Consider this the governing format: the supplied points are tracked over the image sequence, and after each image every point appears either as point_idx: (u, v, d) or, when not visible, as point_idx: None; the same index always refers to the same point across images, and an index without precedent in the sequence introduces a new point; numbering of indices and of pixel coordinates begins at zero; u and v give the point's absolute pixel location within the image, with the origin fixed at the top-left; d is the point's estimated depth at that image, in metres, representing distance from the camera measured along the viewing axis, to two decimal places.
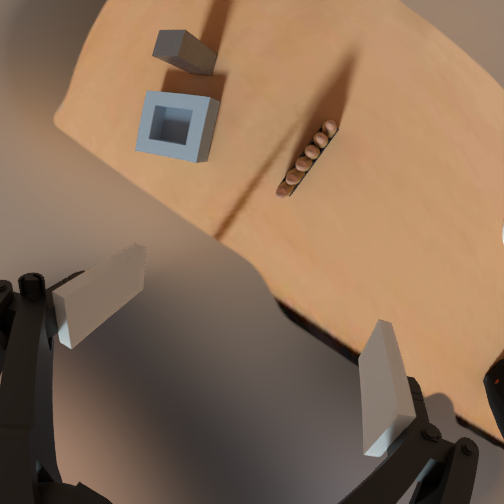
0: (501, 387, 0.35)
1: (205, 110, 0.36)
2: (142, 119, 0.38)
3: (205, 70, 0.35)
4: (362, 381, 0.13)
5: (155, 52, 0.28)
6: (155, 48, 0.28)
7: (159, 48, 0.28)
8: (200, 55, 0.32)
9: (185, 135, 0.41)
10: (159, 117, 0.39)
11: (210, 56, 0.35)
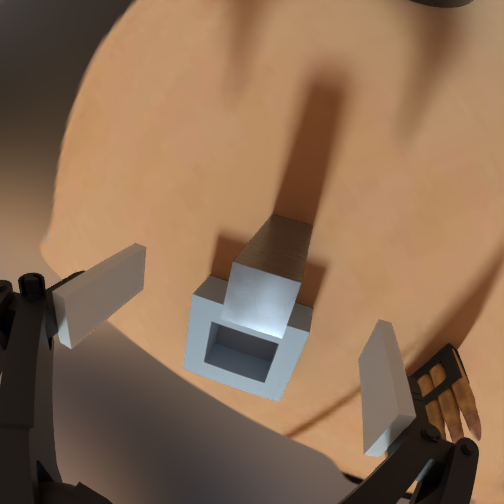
0: None
1: (300, 348, 0.24)
2: (190, 334, 0.26)
3: None
4: (362, 381, 0.13)
5: (228, 314, 0.16)
6: (227, 305, 0.16)
7: (237, 308, 0.16)
8: None
9: (256, 348, 0.29)
10: (215, 325, 0.27)
11: None
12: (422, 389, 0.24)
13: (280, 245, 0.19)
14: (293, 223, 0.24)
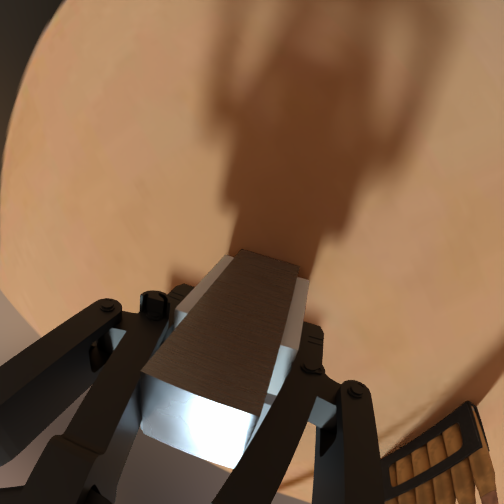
0: None
1: None
2: None
3: None
4: None
5: (151, 431, 0.09)
6: (147, 421, 0.08)
7: (162, 428, 0.08)
8: None
9: None
10: None
11: None
12: (432, 455, 0.17)
13: (239, 318, 0.11)
14: (270, 264, 0.17)
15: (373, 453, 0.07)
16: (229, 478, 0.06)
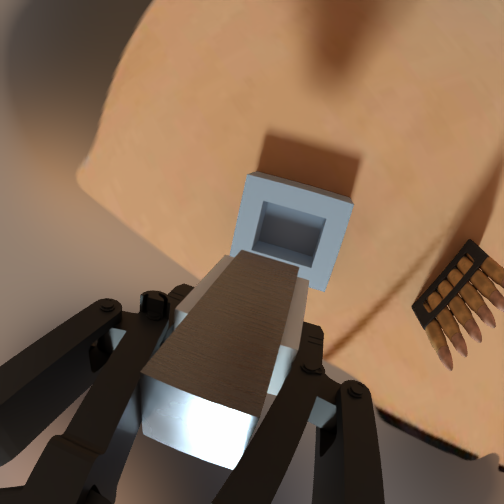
0: None
1: (345, 222, 0.26)
2: (240, 219, 0.29)
3: None
4: None
5: (151, 432, 0.09)
6: (146, 422, 0.08)
7: (161, 429, 0.08)
8: None
9: (299, 241, 0.31)
10: (262, 214, 0.30)
11: None
12: (454, 279, 0.26)
13: (238, 318, 0.11)
14: (270, 265, 0.17)
15: (373, 453, 0.07)
16: (229, 478, 0.06)
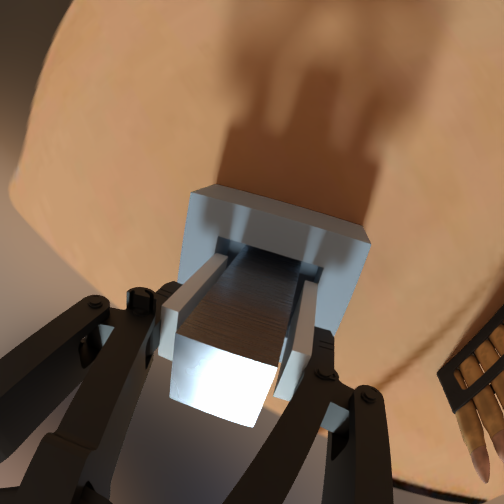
0: None
1: (356, 274, 0.16)
2: (184, 264, 0.18)
3: None
4: (288, 336, 0.16)
5: (178, 394, 0.11)
6: (175, 384, 0.10)
7: (188, 389, 0.10)
8: None
9: None
10: (222, 253, 0.19)
11: None
12: (501, 343, 0.16)
13: (253, 293, 0.13)
14: None
15: (384, 458, 0.07)
16: (239, 482, 0.06)
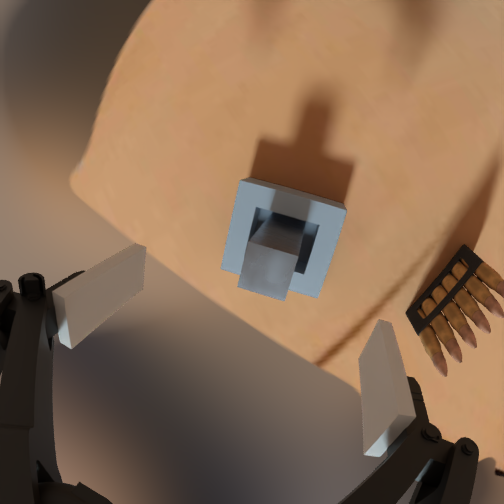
0: None
1: (338, 228, 0.27)
2: (233, 225, 0.29)
3: None
4: (362, 381, 0.13)
5: (243, 282, 0.21)
6: (242, 275, 0.21)
7: (250, 278, 0.21)
8: None
9: None
10: (255, 220, 0.30)
11: None
12: (448, 285, 0.27)
13: (281, 233, 0.24)
14: (290, 219, 0.30)
15: None
16: None
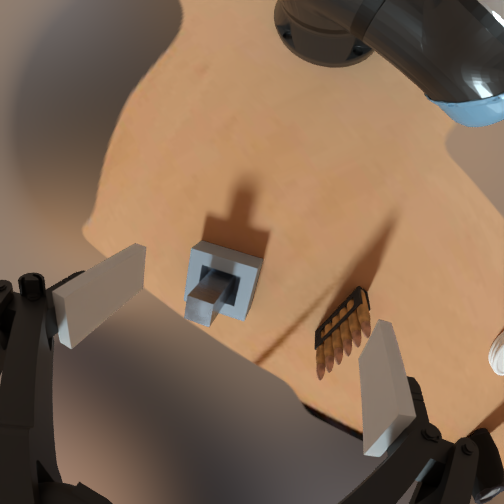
0: None
1: (253, 279, 0.43)
2: (189, 275, 0.45)
3: (228, 296, 0.45)
4: (362, 381, 0.13)
5: (187, 316, 0.38)
6: (186, 312, 0.38)
7: (190, 314, 0.37)
8: (224, 296, 0.42)
9: None
10: (204, 270, 0.46)
11: (232, 282, 0.45)
12: (340, 316, 0.43)
13: (212, 285, 0.40)
14: None
15: None
16: None
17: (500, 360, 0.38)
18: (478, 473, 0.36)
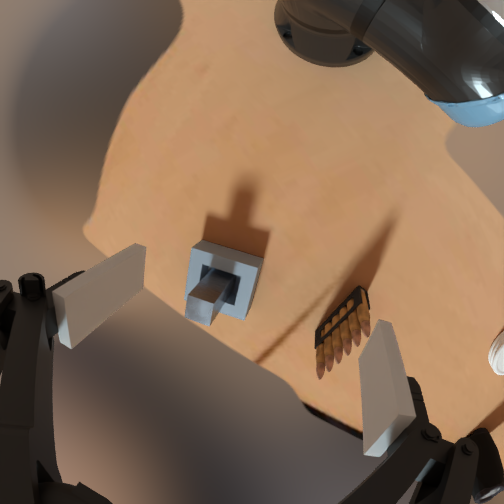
0: None
1: (253, 279, 0.43)
2: (189, 274, 0.45)
3: None
4: (362, 381, 0.13)
5: (187, 315, 0.38)
6: (186, 311, 0.38)
7: (190, 313, 0.38)
8: (225, 295, 0.42)
9: None
10: (204, 269, 0.46)
11: (232, 281, 0.45)
12: (340, 315, 0.43)
13: (212, 285, 0.40)
14: None
15: None
16: None
17: (500, 360, 0.38)
18: (478, 473, 0.36)
